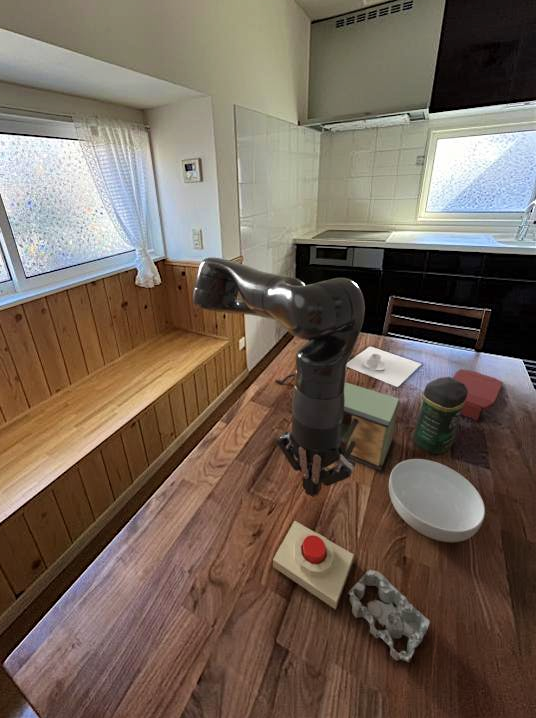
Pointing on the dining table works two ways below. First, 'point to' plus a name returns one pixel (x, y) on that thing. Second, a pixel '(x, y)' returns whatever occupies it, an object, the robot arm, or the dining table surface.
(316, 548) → the button
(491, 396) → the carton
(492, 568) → the dining table surface
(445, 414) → the coffee jar
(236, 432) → the dining table surface
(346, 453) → the door
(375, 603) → the egg carton
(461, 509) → the cereal bowl
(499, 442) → the dining table surface
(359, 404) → the cupboard
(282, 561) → the switch box
